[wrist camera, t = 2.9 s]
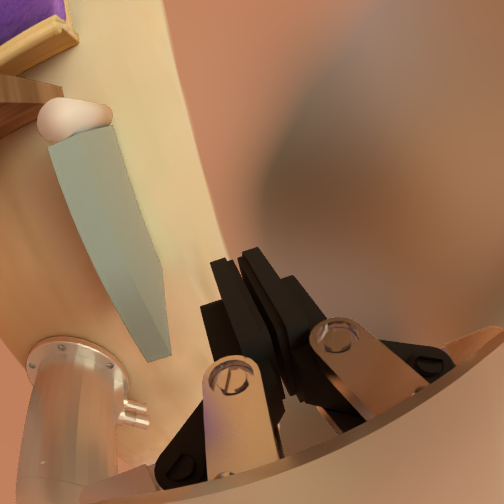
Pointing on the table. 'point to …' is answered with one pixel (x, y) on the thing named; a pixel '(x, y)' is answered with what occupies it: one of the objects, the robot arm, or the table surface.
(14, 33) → the toy sofa
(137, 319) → the grey panel
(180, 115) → the table surface
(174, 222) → the table surface
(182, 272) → the table surface
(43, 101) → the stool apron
